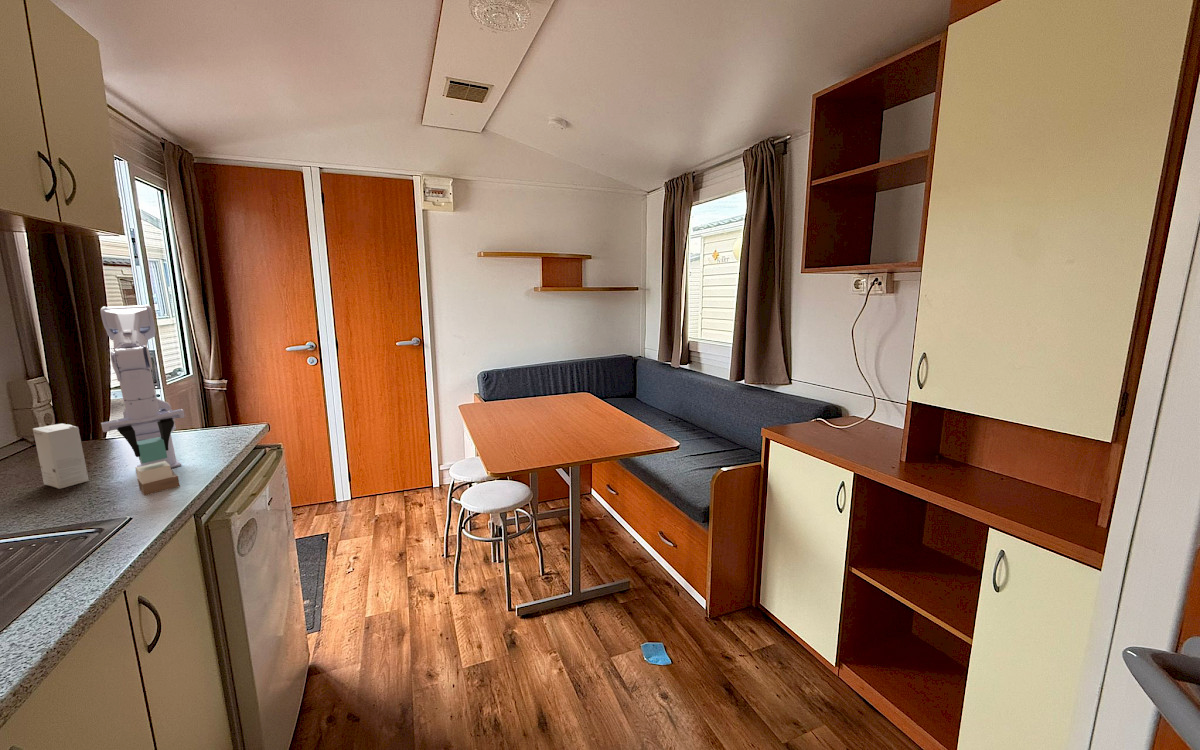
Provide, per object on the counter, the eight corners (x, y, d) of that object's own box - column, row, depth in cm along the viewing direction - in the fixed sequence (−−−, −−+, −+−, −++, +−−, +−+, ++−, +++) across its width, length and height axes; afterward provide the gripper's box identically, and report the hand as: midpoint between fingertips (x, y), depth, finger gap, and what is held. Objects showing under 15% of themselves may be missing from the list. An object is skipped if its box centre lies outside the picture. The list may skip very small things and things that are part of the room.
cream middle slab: (138, 479, 120) (135, 467, 119) (167, 472, 124) (164, 460, 123) (142, 484, 116) (139, 472, 116) (172, 476, 120) (170, 465, 120)
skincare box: (43, 485, 125) (28, 428, 122) (75, 476, 130) (62, 422, 128) (60, 489, 122) (45, 431, 119) (92, 480, 127) (78, 424, 124)
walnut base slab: (139, 490, 121) (137, 478, 120) (174, 481, 125) (171, 470, 125) (145, 496, 116) (142, 484, 116) (180, 487, 121) (177, 475, 121)
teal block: (139, 459, 119) (135, 441, 118) (163, 454, 122) (159, 436, 122) (142, 463, 116) (138, 445, 115) (167, 457, 120) (163, 440, 119)
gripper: (99, 407, 109) (112, 465, 111) (183, 394, 119) (193, 447, 122) (95, 402, 113) (108, 459, 116) (176, 390, 124) (187, 442, 126)
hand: (152, 452), depth 119 cm, fingers closed on teal block, 4 cm apart
